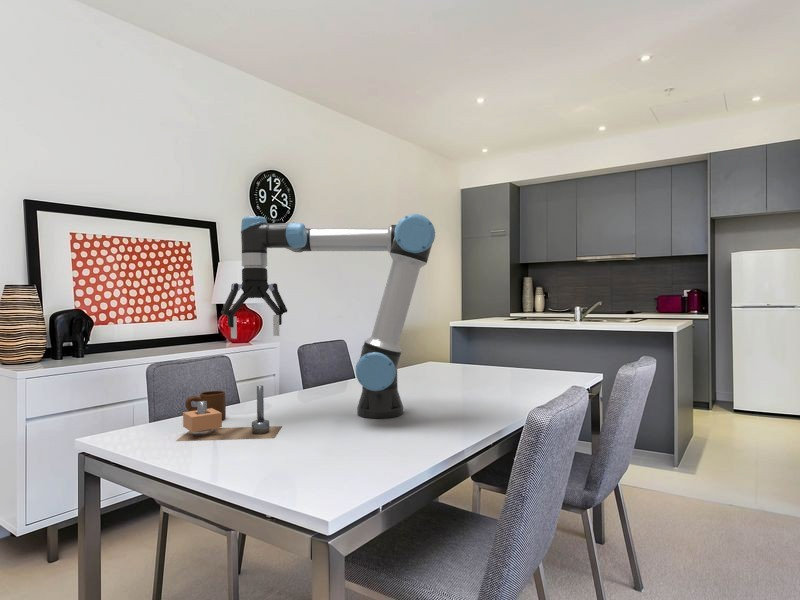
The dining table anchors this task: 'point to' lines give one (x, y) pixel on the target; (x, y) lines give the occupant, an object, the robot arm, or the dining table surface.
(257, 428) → the stand
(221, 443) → the dining table surface
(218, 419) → the square wooden nut
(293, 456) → the dining table surface
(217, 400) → the mug
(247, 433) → the board
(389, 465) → the dining table surface
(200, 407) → the grey metal post
